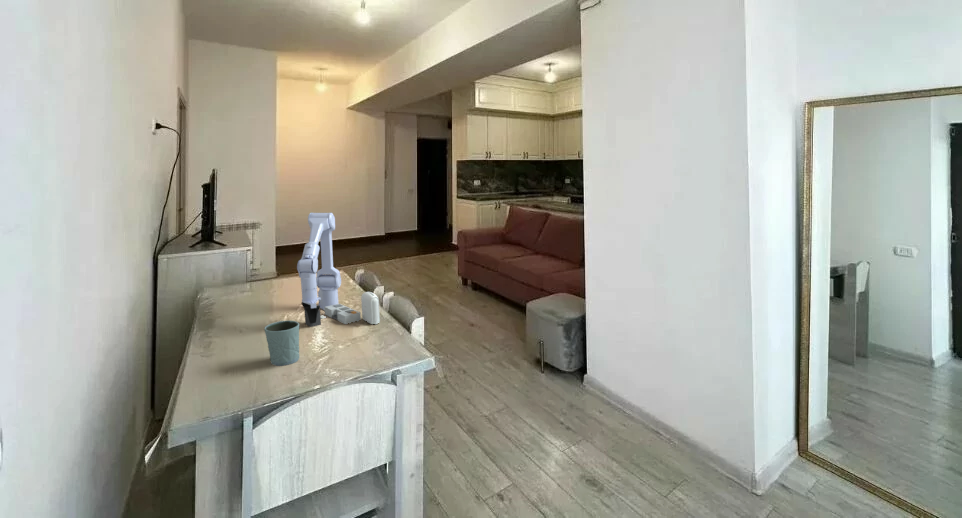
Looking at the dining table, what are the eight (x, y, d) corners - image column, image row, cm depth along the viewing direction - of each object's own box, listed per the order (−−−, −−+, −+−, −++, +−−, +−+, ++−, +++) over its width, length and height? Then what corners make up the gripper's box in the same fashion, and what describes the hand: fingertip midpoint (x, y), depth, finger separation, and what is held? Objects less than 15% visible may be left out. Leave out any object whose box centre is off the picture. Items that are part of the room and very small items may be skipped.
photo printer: (360, 319, 184) (359, 290, 182) (370, 317, 187) (369, 289, 185) (371, 325, 176) (370, 296, 174) (381, 323, 179) (380, 294, 177)
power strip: (324, 314, 190) (324, 305, 190) (339, 311, 195) (339, 302, 195) (345, 324, 178) (344, 314, 177) (360, 320, 183) (360, 311, 182)
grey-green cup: (306, 354, 148) (303, 320, 146) (294, 367, 138) (291, 330, 136) (275, 354, 148) (272, 320, 145) (262, 367, 138) (258, 331, 135)
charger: (305, 324, 178) (304, 309, 177) (322, 320, 183) (321, 306, 182) (310, 327, 175) (309, 312, 173) (327, 322, 180) (326, 308, 178)
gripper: (323, 291, 170) (325, 324, 173) (316, 283, 183) (318, 314, 185) (304, 293, 167) (306, 327, 169) (298, 285, 179) (300, 317, 182)
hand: (311, 320), depth 177 cm, fingers closed on charger, 5 cm apart
